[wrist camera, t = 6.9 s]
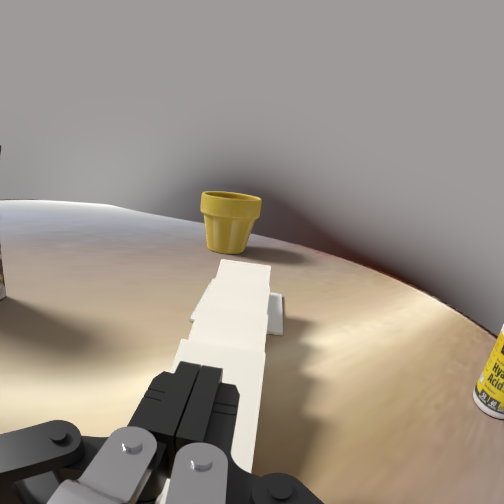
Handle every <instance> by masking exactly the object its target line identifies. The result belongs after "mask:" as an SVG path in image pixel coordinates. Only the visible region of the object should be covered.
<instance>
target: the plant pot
mask: <svg viewBox="0 0 504 504" xmlns="http://www.w3.org/2000/svg"><path fill="white" fill-rule="evenodd" d="M261 202H262V201H261V199H260V198H258V197H254V196H250V195H245V194H239V193H231V192H219V191H218V192H217V191H207V192H203V193H202V198H201V212H202V213H204V219H205V229H206V238H207V247H208V249H210V250H211V251H214V252H217V253H222V254H239V253H242V252H243V251H244V250H245V247H246V244H247V241H248V238H249V235H250V233H251V230H252V227H253V224H254V221H255V219H257V218H259V214H260V209H261Z"/></svg>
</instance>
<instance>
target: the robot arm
mask: <svg viewBox="0 0 504 504" xmlns="http://www.w3.org/2000/svg"><path fill="white" fill-rule="evenodd" d="M222 377H223V368H217V367H211V366H206V365H202V366H201V365H200V364H195V363H189V362H184V361H180V362H179V364H178V366H177V368H176V371H175V373H169V372H165V371H164V372H162V373H161V374H159V375H158V376H156V377H155V378H153V380H152V382H151V384H150V386H149V387H148V390H147V391H146V393H145V395H144V398H142V400H141V402H140V404H139V405H138V407H137V409H136V411H135V413H134V414H133V416H132V418H131V420H130V422H129V424H128V425H127V427H123V428H120V429H117V430H115V431H114V432H113V433H112V434H111V435H110V436H109V437H89V436H81V434H80V431H79V430H78V428H77V427H76V426H75V425H73V424H72V423H70V422H67V421H63V420H53V421H49V422H46V423H42V424H39V425H35V426H31V427H28V428H24V429H20V430H16V431H12V432H8V433H4V434H0V504H159V503H160V501H161V499H162V496H163V488H164V486H165V483H166V480H167V478H168V479H170V483H169V488H168V492H167V497H166V501H165V504H324V503H323V502H322V501H321V500H320V499H318V498H317V497H316V496H315V495H314V494H313V493H312V492H311V491H310V490H309V489H308V488H307V487H306V486H304V485H303V484H302V483H301V482H300V481H299V480H298V479H296V478H295V477H293V476H290V475H287V474H282V473H271V474H267V475H264V476H262V477H259V476H256V475H254V474H251V473H249V472H247V471H245V470H243V469H241V468H240V467H239V466H238V465H237V464H236V463H235V462H234V460H233V458H232V456H231V449H232V443H233V437H234V431H235V425H236V419H237V412H238V405H239V399H240V394H239V392H238V389H237V387H236V385H234V384H228V383H222Z"/></svg>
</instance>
